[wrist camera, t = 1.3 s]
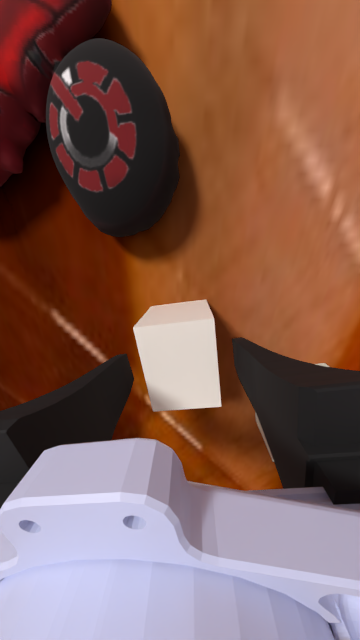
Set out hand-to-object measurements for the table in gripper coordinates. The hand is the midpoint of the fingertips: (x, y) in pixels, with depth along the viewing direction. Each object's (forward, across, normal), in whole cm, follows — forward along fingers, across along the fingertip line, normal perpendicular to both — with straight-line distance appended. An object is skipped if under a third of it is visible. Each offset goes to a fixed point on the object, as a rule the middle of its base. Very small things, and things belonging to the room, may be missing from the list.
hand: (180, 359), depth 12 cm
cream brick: (+4, 0, 0) cm, 4 cm away
